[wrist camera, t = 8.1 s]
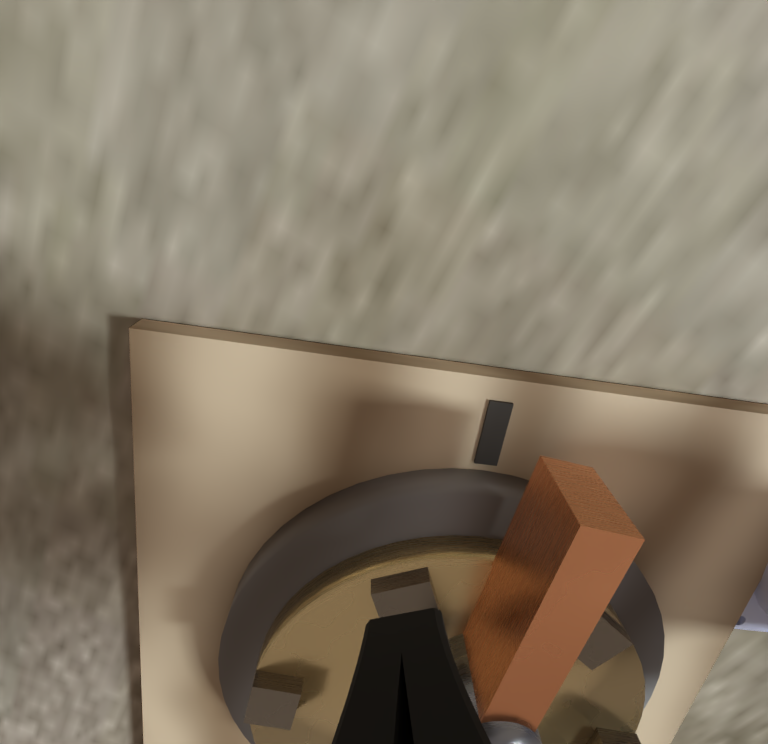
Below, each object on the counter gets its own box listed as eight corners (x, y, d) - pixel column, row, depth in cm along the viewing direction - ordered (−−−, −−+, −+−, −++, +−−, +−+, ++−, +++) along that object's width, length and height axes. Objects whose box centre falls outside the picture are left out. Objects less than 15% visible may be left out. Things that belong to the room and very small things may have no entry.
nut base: (822, 411, 19) (886, 447, 16) (612, 810, 27) (634, 869, 25) (142, 318, 17) (105, 343, 14) (153, 777, 26) (131, 838, 23)
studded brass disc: (543, 814, 23) (581, 960, 19) (230, 769, 21) (195, 917, 17) (754, 486, 16) (883, 596, 12) (327, 384, 15) (309, 471, 11)
